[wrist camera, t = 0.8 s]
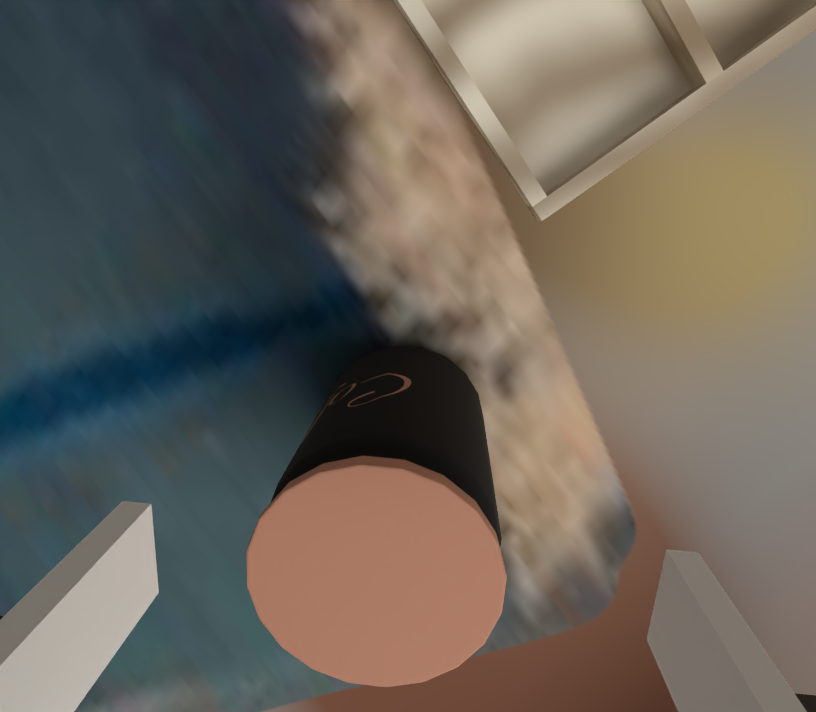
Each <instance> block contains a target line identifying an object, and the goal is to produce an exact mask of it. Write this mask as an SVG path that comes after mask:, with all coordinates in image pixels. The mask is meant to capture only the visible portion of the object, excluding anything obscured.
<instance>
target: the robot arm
mask: <svg viewBox="0 0 816 712" xmlns="http://www.w3.org/2000/svg"><path fill="white" fill-rule="evenodd" d="M158 593H159V591H158V579H157V567H156V555H155V543H154V531H153V519H152V507H151V504H148V503H137V502H126V501H122V502H121V503H120V504H119V505H118V506H117V507H116V508H115V509H114V510H113V511H112V512H111V513H110V514H109V515H108V516H107V517H106V518H105V519H104V520H103V521H102V522H101V523H100V524H98V525H97V526H96V527H95V528H94V529H93V530H92V531H91V532H90V533H89V534H88V535H87V536H86V537H85V538H84V539H83V540H82V541H81V542H80V543H79V544H78V545H77V546H76V547H75V548H74V549H73V550H72V551H71V552H70V553H69V554H68V555H67V556H65V557H64V558H63V559H62V560H61V561H60V562H59V563H58V564H57V565H56V566H55V567H54V568H53V569H52V570H51V571H50V572H49V573H48V574H47V575H46V576H45V577H44V578H43V579H42V580H41V581H40V582H39V583H38V584H37V585H36V586H35V587H34V588H32V589H31V590H30V591H29V592H28V593H27V594H26V595H25V596H24V597H23V598H22V599H21V600H20V601H19V602H18V603H17V604H16V605H15V606H14V607H13V608H12V609H11V610H10V611H9V612H8V613H7V614H6V615H5V616H0V712H74V711H75V710H76V708H77V707H78V705H79V704H80V703H81V701H82V700H83V698H84V697H85V695H86V694H87V693H88V691H89V690H90V688H91V687H92V686H93V684H94V683H95V681H96V680H97V679H98V677H99V676H100V674H101V673H102V672H103V670H104V669H105V667H106V666H107V665H108V663H109V662H110V660H111V659H112V657H113V656H114V655H115V653H116V652H117V650H118V649H119V648H120V646H121V645H122V643H123V642H124V641H125V639H126V638H127V636H128V635H129V634H130V632H131V631H132V629H133V628H134V627H135V625H136V624H137V622H138V621H139V619H140V618H141V617H142V615H143V614H144V612H145V611H146V610H147V608H148V607H149V605H150V604H151V603H152V601H153V600H154V598H155V597H156V596H157V594H158ZM647 641H648V644H649V646H650V648H651V651H652V653H653V655H654V657H655V660H656V662H657V664H658V666H659V669H660V671H661V673H662V676H663V678H664V680H665V682H666V685H667V687H668V689H669V692H670V694H671V696H672V698H673V701H674V703H675V705H676V707H677V710H678V712H816V696H814V695H803V694H795V693H794V692H793V691H792V689H791V688H790V686H789V685H788V683H787V682H786V680H785V679H784V677H783V676H782V674H781V673H780V672H779V670H778V669H777V667H776V666H775V664H774V663H773V661H772V660H771V658H770V657H769V655H768V654H767V653H766V651H765V650H764V648H763V647H762V645H761V644H760V642H759V641H758V639H757V638H756V636H755V635H754V633H753V632H752V631H751V629H750V628H749V626H748V625H747V623H746V622H745V620H744V619H743V617H742V616H741V615H740V613H739V612H738V610H737V609H736V607H735V606H734V604H733V603H732V601H731V600H730V598H729V597H728V595H727V594H726V593H725V591H724V590H723V588H722V587H721V585H720V584H719V582H718V581H717V579H716V578H715V577H714V575H713V573H712V572H711V571H710V569H709V568H708V566H707V565H706V563H705V562H704V560H703V559H702V558H701V556H700V554H699V553H698V552H689V551H677V550H666V554H665V559H664V564H663V568H662V573H661V577H660V582H659V586H658V590H657V595H656V600H655V604H654V609H653V613H652V618H651V623H650V627H649V632H648V636H647Z"/></svg>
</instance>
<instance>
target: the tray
mask: <svg viewBox="0 0 816 712" xmlns="http://www.w3.org/2000/svg"><path fill="white" fill-rule="evenodd" d="M393 2H394V3H395V5H396V6H397V8H398V9H399V11H400V12H401V14H402V15H403V17H404V18H405V20H406V21H407V23H408V25H409V26H410V28H411V29H412V31H413V32H414V34H415V35H416V37H417V38H418V40H419V41H420V43H421V44H422V46H423V47H424V49H425V51H426V52H427V54H428V55H429V57H430V58H431V60H432V61H433V63H434V64H435V66H436V67H437V69H438V70H439V72H440V73H441V75H442V77H443V78H444V80H445V81H446V83H447V84H448V86H449V87H450V89H451V90H452V92H453V93H454V95H455V96H456V98H457V99H458V101H459V102H460V104H461V106H462V107H463V109H464V110H465V112H466V113H467V115H468V116H469V118H470V119H471V121H472V122H473V124H474V125H475V127H476V128H477V130H478V132H479V133H480V135H481V136H482V138H483V139H484V141H485V142H486V144H487V145H488V147H489V148H490V150H491V151H492V153H493V154H494V156H495V157H496V159H497V160H498V162H499V164H500V165H501V167H502V168H503V170H504V171H505V173H506V174H507V176H508V177H509V179H510V180H511V182H512V183H513V185H514V186H515V188H516V189H517V191H518V192H519V194H520V196H521V197H522V199H523V200H524V202H525V203H526V205H527V206H528V208H529V209H530V211H531V212H532V214H533V216H534V217H535V219H538V220H540V221H543V220H544V219H545V218H547V217H548V216H550V215H551V214H553V213H554V212H556V211H557V210H558V209H560V208H561V207H563V206H564V205H566V204H567V203H568V202H570V201H571V200H573V199H574V198H575V197H577V196H578V195H580V194H581V193H583V192H584V191H585V190H587V189H588V188H590V187H591V186H593V185H594V184H596V183H597V182H598V181H600V180H601V179H603V178H604V177H605V176H607V175H608V174H610V173H611V172H613V171H614V170H615V169H617V168H618V167H620V166H621V165H623V164H624V163H625V162H627V161H628V160H630V159H631V158H633V157H634V156H635V155H637V154H638V153H640V152H641V151H643V150H644V149H645V148H647V147H648V146H650V145H651V144H652V143H654V142H655V141H657V140H658V139H660V138H661V137H663V136H664V135H665V134H667V133H668V132H670V131H671V130H673V129H674V128H675V127H677V126H678V125H680V124H681V123H683V122H684V121H685V120H687V119H688V118H690V117H691V116H693V115H694V114H695V113H697V112H698V111H699V110H701V109H703V108H704V107H705V106H707V105H708V104H710V103H711V102H713V101H714V100H715V99H717V98H718V97H719V96H721V95H723V94H724V93H725V92H727V91H728V90H730V89H731V88H732V87H734V86H735V85H737V84H738V83H740V82H741V81H743V80H744V79H745V78H747V77H748V76H750V75H751V74H752V73H754V72H755V71H757V70H758V69H760V68H761V67H762V66H764V65H765V64H767V63H768V62H769V61H771V60H772V59H774V58H775V57H777V56H778V55H780V54H781V53H782V52H784V51H785V50H787V49H788V48H789V47H791V46H792V45H794V44H795V43H797V42H798V41H799V40H801V39H802V38H804V37H805V36H807V35H808V34H809V33H811V32H812V31H814V30H815V29H816V0H393Z"/></svg>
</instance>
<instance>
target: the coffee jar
mask: <svg viewBox="0 0 816 712" xmlns="http://www.w3.org/2000/svg"><path fill="white" fill-rule="evenodd" d="M500 545H501V532H500V526H499V519H498V512H497V506H496V499H495V492H494V486H493V479H492V472H491V466H490V459H489V452H488V446H487V439H486V432H485V426H484V419H483V414H482V409H481V405H480V400H479V396H478V393H477V391H476V390H475V388H474V386H473V385H472V383H471V382H470V380H469V378H468V377H467V375H466V373H464V372H463V371H462V370H461V369H460V368H458V367H457V366H456V365H455V364H454V363H453V362H451V361H450V360H449V359H448V358H447V357H444V356H442V355H439V354H437V353H435V352H432V351H430V350H427V349H425V348H421V347H410V346H399V345H397V346H393V347H388V348H384V349H379V350H375V351H372V352H370V353H369V354H367V355H365V356H364V357H362V358H360V359H358V360H357V361H355V362H353V363H352V364H351V365H350V366H349V368H348V369H347V370H346V371H345V372H344V373H343V375H342V376H341V377H340V378H339V379H338V380H337V382H336V384H335V385H334V387H333V389H332V391H331V392H330V394H329V396H328V397H327V399H326V401H325V403H324V404H323V406H322V408H321V410H320V411H319V413H318V415H317V417H316V418H315V420H314V422H313V424H312V425H311V427H310V429H309V431H308V432H307V434H306V436H305V438H304V439H303V441H302V443H301V444H300V446H299V448H298V450H297V451H296V453H295V455H294V457H293V458H292V460H291V462H290V464H289V465H288V467H287V469H286V471H285V472H284V474H283V476H282V478H281V479H280V481H279V483H278V485H277V487H276V490H275V493H274V495H273V498H272V501H271V503H270V504H269V505H268V507H267V508H266V509H265V510H264V512H263V513H262V514H261V515H260V517H259V519H258V522H257V524H256V527H255V530H254V532H253V535H252V538H251V540H250V543H249V545H248V548H247V587H248V590H249V592H250V595H251V598H252V600H253V603H254V606H255V608H256V611H257V614H258V616H259V619H260V620H261V622H262V623H263V624H264V625H265V627H266V628H267V629H268V630H269V632H270V633H271V634H272V635H273V637H274V638H275V639H276V640H277V642H278V643H279V644H280V645H281V647H282V648H284V649H285V650H287V651H288V652H289V653H291V654H292V655H294V656H295V657H296V658H298V659H299V660H301V661H302V662H303V663H305V664H306V665H308V666H309V667H310V668H312V669H314V670H316V671H319V672H322V673H324V674H327V675H330V676H332V677H335V678H337V679H340V680H343V681H345V682H348V683H356V684H365V685H373V686H382V687H390V686H397V685H405V684H412V683H419V682H425V681H427V680H429V679H431V678H434V677H436V676H438V675H441V674H443V673H445V672H447V671H450V670H452V669H455V668H457V667H458V666H459V665H460V664H462V663H463V662H464V661H465V660H466V659H468V658H469V657H470V656H471V655H472V654H473V653H474V652H476V651H477V650H478V649H479V648H480V647H481V646H483V645H484V643H485V642H486V640H487V638H488V636H489V635H490V633H491V631H492V629H493V628H494V626H495V624H496V622H497V621H498V619H499V617H500V615H501V613H502V608H503V601H504V594H505V587H506V581H507V576H506V572H505V567H504V563H503V558H502V554H501V550H500Z"/></svg>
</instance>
